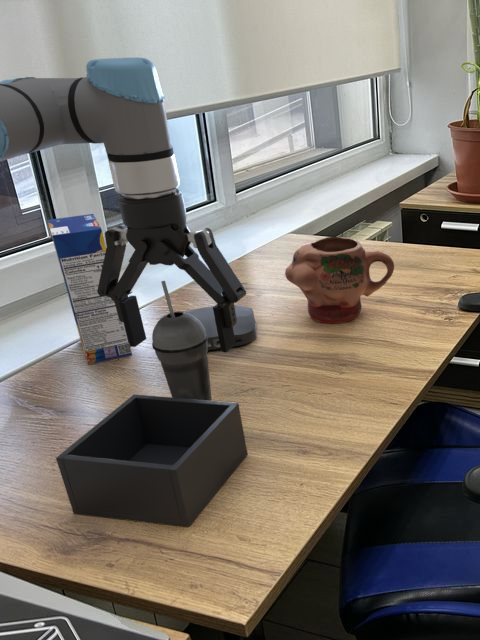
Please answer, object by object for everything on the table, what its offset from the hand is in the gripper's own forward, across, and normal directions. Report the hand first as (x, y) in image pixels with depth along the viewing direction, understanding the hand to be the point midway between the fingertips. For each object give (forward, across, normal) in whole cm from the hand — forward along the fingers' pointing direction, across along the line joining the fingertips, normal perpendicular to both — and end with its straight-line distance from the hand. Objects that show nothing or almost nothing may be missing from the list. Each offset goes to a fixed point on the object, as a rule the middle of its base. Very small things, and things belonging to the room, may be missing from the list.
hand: (183, 345), depth 97 cm
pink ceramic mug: (+11, -9, -39) cm, 41 cm away
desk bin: (+11, -5, +16) cm, 20 cm away
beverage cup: (+11, 0, 0) cm, 11 cm away
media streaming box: (+11, +11, -26) cm, 30 cm away
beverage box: (+11, +27, -18) cm, 34 cm away
